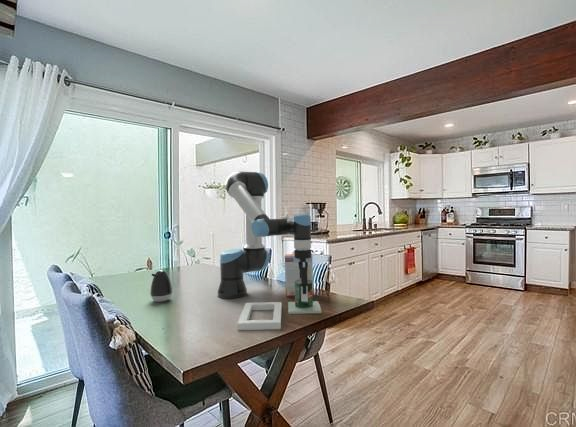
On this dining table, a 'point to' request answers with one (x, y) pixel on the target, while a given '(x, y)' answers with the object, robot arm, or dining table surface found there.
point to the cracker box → (295, 273)
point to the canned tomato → (298, 295)
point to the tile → (313, 309)
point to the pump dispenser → (161, 287)
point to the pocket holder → (260, 324)
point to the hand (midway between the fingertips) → (303, 296)
